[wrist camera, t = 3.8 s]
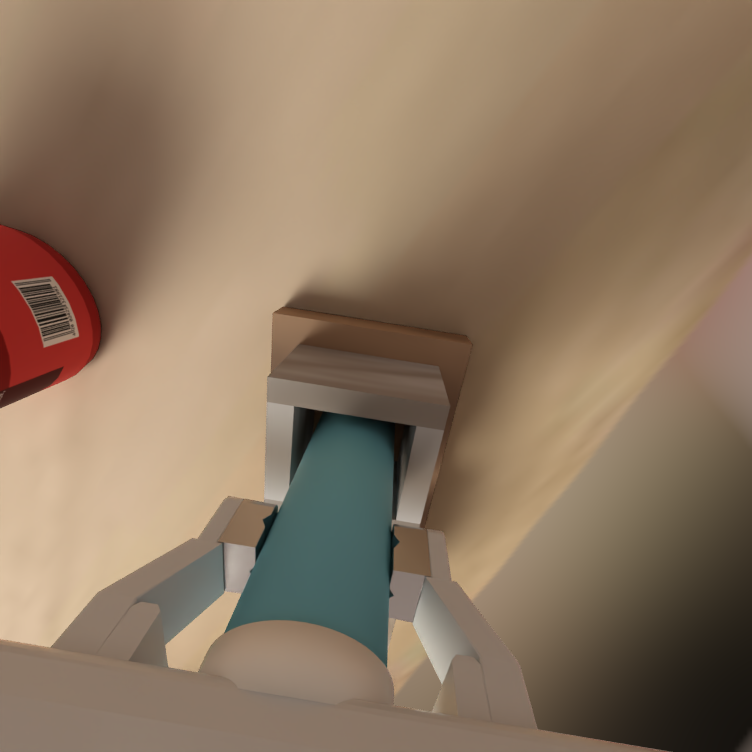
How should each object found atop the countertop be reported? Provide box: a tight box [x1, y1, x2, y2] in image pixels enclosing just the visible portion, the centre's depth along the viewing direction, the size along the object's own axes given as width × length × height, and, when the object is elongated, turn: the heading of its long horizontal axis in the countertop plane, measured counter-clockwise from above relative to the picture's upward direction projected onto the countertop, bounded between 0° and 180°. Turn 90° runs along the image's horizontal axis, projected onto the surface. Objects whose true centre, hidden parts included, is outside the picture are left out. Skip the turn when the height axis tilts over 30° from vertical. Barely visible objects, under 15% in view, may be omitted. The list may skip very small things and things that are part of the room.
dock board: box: [264, 307, 472, 648], centre depth 18 cm, size 18×9×6 cm, turn 172°
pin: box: [198, 411, 395, 705], centre depth 11 cm, size 4×4×12 cm
